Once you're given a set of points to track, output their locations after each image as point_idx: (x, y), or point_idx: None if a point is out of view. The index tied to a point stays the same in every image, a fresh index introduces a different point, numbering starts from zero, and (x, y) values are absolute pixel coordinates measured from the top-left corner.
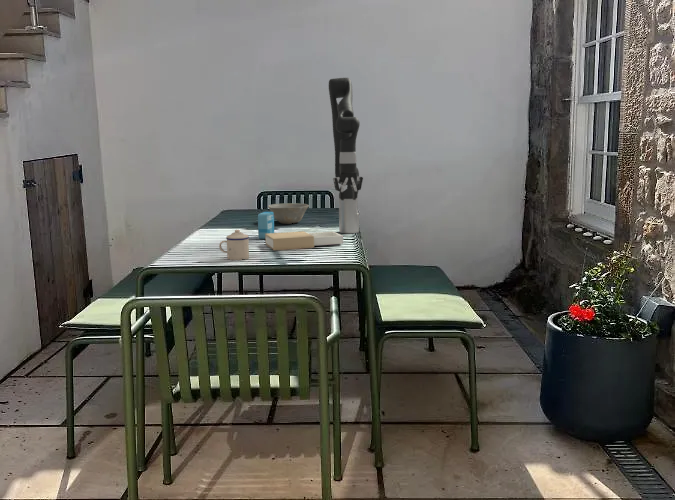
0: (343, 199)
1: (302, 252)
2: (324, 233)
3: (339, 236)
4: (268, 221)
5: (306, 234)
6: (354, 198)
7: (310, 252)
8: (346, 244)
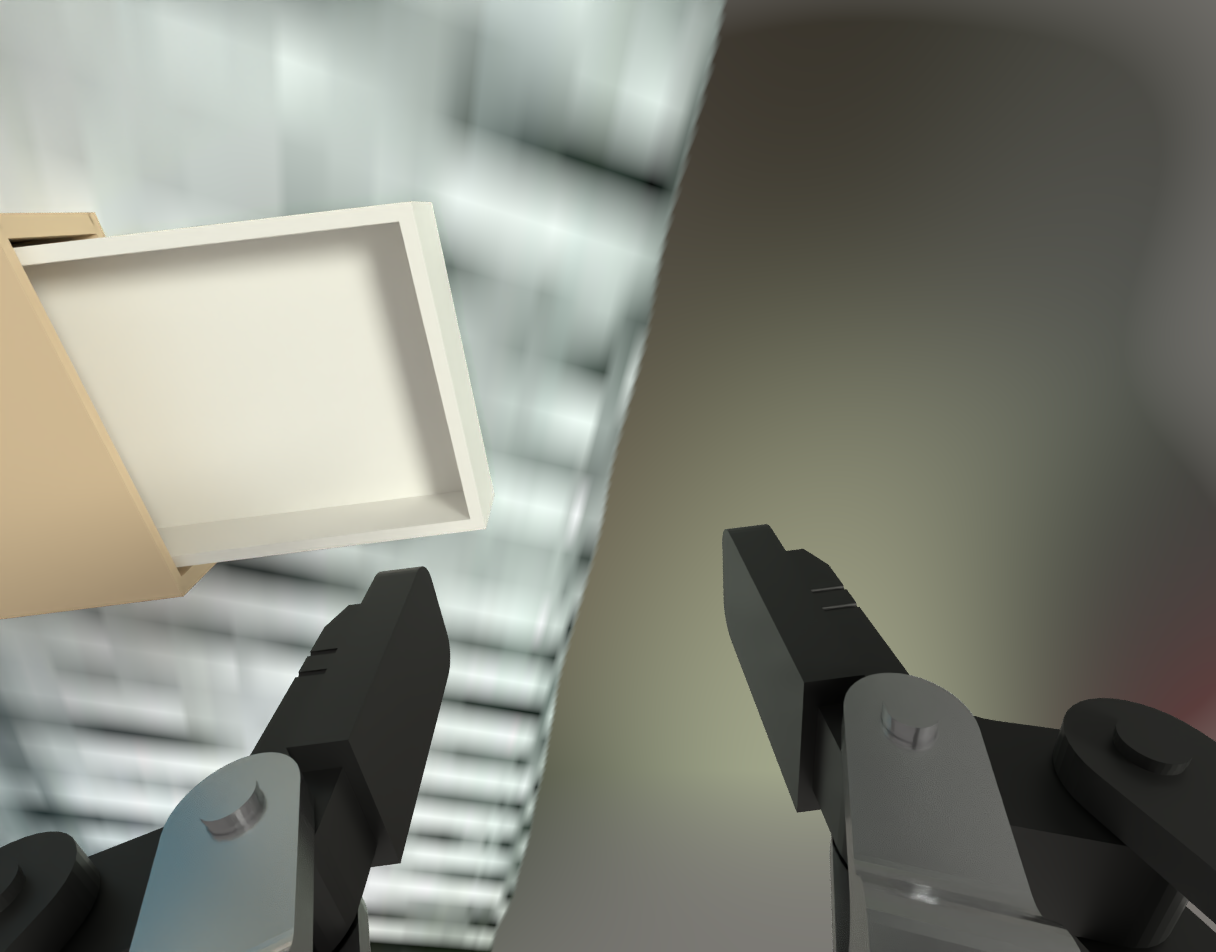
0: (438, 676)
1: (167, 685)
2: (297, 232)
3: (448, 531)
4: None
5: (81, 472)
6: (738, 648)
7: (228, 694)
8: (529, 457)
